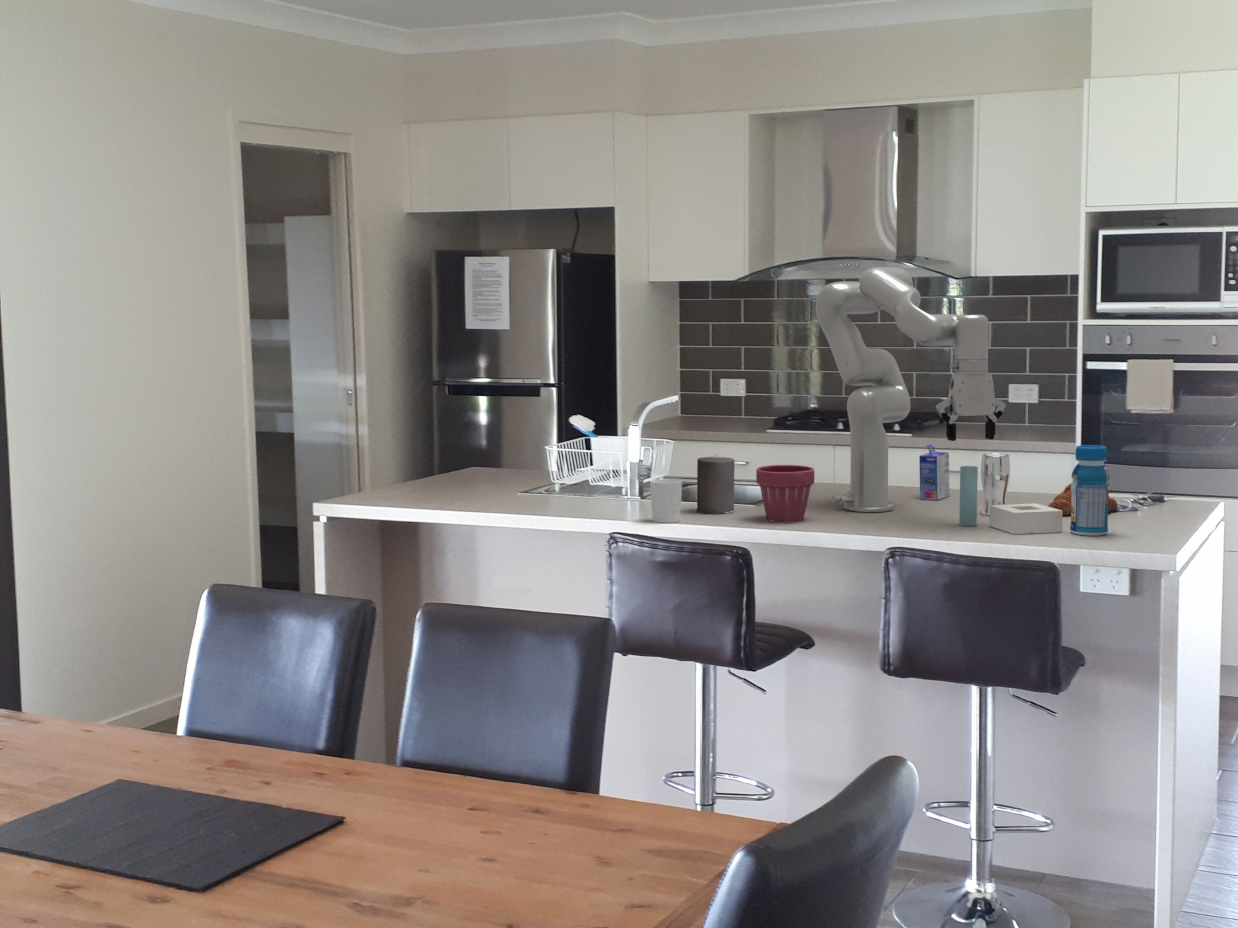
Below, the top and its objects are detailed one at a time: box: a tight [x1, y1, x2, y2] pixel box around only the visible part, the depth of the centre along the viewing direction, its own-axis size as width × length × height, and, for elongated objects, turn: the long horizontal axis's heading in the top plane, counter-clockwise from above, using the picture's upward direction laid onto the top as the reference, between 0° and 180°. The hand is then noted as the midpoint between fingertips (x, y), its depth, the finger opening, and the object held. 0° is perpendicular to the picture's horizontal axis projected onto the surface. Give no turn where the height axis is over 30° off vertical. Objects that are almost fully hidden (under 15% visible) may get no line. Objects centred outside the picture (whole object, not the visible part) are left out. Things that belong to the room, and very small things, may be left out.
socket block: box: [988, 502, 1063, 535], centre depth 311 cm, size 12×12×5 cm
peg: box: [958, 465, 979, 527], centre depth 318 cm, size 4×4×14 cm
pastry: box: [1047, 482, 1119, 517], centre depth 335 cm, size 17×15×8 cm
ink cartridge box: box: [918, 444, 950, 501], centre depth 364 cm, size 10×6×14 cm, turn 148°
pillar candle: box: [696, 453, 735, 515], centre depth 344 cm, size 10×10×15 cm
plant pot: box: [755, 464, 815, 522], centre depth 330 cm, size 14×14×13 cm
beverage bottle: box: [1069, 444, 1111, 537], centre depth 304 cm, size 8×8×20 cm
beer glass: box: [980, 452, 1011, 516], centre depth 334 cm, size 7×7×15 cm
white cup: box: [649, 478, 683, 524], centre depth 329 cm, size 8×8×10 cm
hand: (970, 439), depth 316 cm, fingers open, 9 cm apart
